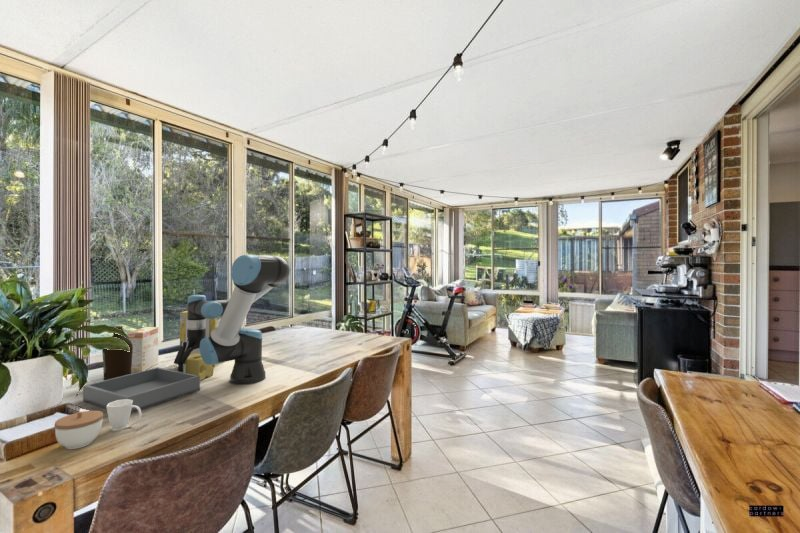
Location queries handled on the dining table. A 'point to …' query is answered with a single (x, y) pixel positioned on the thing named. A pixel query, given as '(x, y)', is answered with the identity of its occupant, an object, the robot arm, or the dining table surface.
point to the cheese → (198, 366)
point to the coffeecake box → (144, 348)
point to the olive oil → (117, 360)
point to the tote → (142, 388)
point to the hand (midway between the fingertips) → (196, 374)
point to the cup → (121, 413)
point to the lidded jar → (78, 429)
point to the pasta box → (209, 327)
